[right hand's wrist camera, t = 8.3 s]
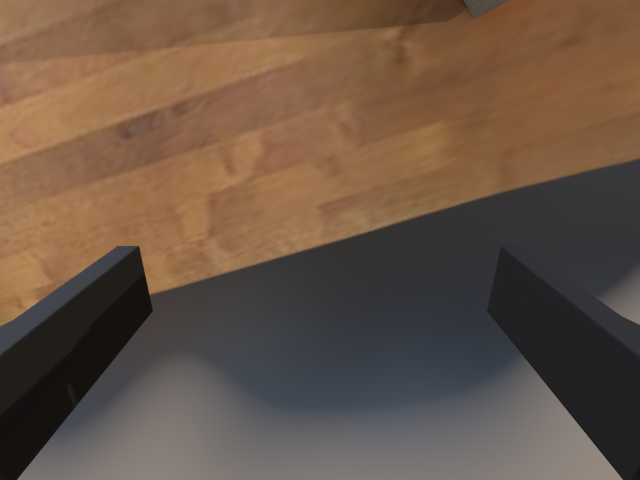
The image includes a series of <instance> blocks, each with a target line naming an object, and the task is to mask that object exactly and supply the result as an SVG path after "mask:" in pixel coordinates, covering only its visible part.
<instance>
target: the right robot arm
mask: <svg viewBox="0 0 640 480" xmlns="http://www.w3.org/2000/svg"><path fill="white" fill-rule="evenodd" d="M152 311H153V310H152V305H151V300H150V296H149V291H148V286H147V282H146V277H145V272H144V268H143V263H142V258H141V254H140V249H139V246H117V247H116V248H114V249H113V250H112V251H110V252H109V253H107V254H106V255H105V256H103V257H102V258H100V259H99V260H97V261H96V262H95V263H93V264H92V265H90V266H89V267H88V268H86V269H85V270H83V271H82V272H80V273H79V274H78V275H76V276H75V277H73V278H72V279H71V280H69V281H68V282H66V283H65V284H64V285H62V286H61V287H59V288H58V289H56V290H55V291H54V292H52V293H51V294H49V295H48V296H47V297H45V298H44V299H42V300H41V301H39V302H38V303H37V304H35V305H34V306H32V307H31V308H30V309H28V310H27V311H25V312H24V313H23V314H21V315H20V316H18V317H17V318H15V319H14V320H13V321H11V322H9V323H7V324H5V325H2V326H0V480H17V479H18V478H19V476H20V475H21V474H22V473H23V471H24V470H25V469H26V468H27V466H28V465H29V464H30V463H31V462H32V460H33V459H34V458H35V457H36V455H37V454H38V453H39V452H40V450H41V449H42V448H43V447H44V445H45V444H46V443H47V442H48V440H49V439H50V438H51V437H52V435H53V434H54V433H55V432H56V430H57V429H58V428H59V427H60V425H61V424H62V423H63V422H64V421H65V419H66V418H67V417H68V416H69V414H70V413H71V412H72V411H73V409H74V408H75V407H76V406H77V404H78V403H79V402H80V401H81V399H82V398H83V397H84V396H85V394H86V393H87V392H88V391H89V389H90V388H91V387H92V386H93V385H94V383H95V382H96V381H97V379H98V378H99V377H100V376H101V375H102V373H103V372H104V371H105V370H106V368H107V367H108V366H109V365H110V363H111V362H112V361H113V360H114V358H115V357H116V356H117V355H118V353H119V352H120V351H121V350H122V348H123V347H124V346H125V345H126V344H127V342H128V341H129V340H130V339H131V337H132V336H133V335H134V333H135V332H136V331H137V330H138V329H139V327H140V326H141V325H142V324H143V322H144V321H145V320H146V319H147V317H148V316H149V315H150V314H151V312H152ZM487 311H488V312H489V314H490V315H491V316H492V317H493V319H494V320H495V321H496V322H497V324H498V325H499V326H500V327H501V329H502V330H503V331H504V332H505V334H506V335H507V336H508V337H509V339H510V340H511V341H512V342H513V343H514V345H515V346H516V347H517V348H518V350H519V351H520V352H521V353H522V355H523V356H524V357H525V358H526V360H527V361H528V362H529V363H530V365H531V366H532V367H533V368H534V370H535V371H536V372H537V373H538V375H539V376H540V377H541V378H542V380H543V381H544V382H545V383H546V385H547V386H548V387H549V388H550V389H551V391H552V392H553V393H554V394H555V396H556V397H557V398H558V399H559V401H560V402H561V403H562V404H563V406H564V407H565V408H566V409H567V411H568V412H569V413H570V414H571V415H572V417H573V418H574V419H575V421H576V422H577V423H578V424H579V426H580V427H581V428H582V429H583V430H584V432H585V433H586V434H587V435H588V437H589V438H590V439H591V440H592V442H593V443H594V444H595V445H596V447H597V448H598V449H599V450H600V452H601V453H602V454H603V455H604V456H605V458H606V459H607V460H608V462H609V463H610V464H611V465H612V466H613V468H614V469H615V470H616V471H617V473H618V474H619V475H620V476H621V478H622V479H623V480H640V325H639V324H637V323H634V322H632V321H630V320H628V319H626V318H624V317H622V316H620V315H619V314H617V313H616V312H615V311H613V310H612V309H610V308H609V307H608V306H606V305H605V304H603V303H602V302H601V301H599V300H598V299H596V298H595V297H593V296H592V295H591V294H589V293H588V292H586V291H585V290H583V289H582V288H581V287H579V286H578V285H576V284H575V283H574V282H572V281H571V280H569V279H568V278H567V277H565V276H564V275H562V274H561V273H560V272H558V271H557V270H555V269H554V268H552V267H551V266H550V265H548V264H547V263H545V262H544V261H543V260H541V259H540V258H538V257H537V256H535V255H534V254H533V253H531V252H530V251H528V250H527V249H526V248H524V247H523V246H501V249H500V254H499V258H498V263H497V268H496V272H495V277H494V282H493V286H492V291H491V296H490V300H489V305H488V310H487Z"/></svg>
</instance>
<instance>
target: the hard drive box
mask: <svg viewBox="0 0 640 480" xmlns="http://www.w3.org/2000/svg"><path fill="white" fill-rule="evenodd" d="M463 1H464V3H465V5H466V6H467V8H468V10H469V12H470V14H471V15H472V17H473V18H476V17H478V16H480V15H481V14H483V13H485V12H487V11H489V10H491V9H493V8H495V7H497V6H499V5H500V4H502V3H504V2H506V1H508V0H463Z"/></svg>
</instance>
